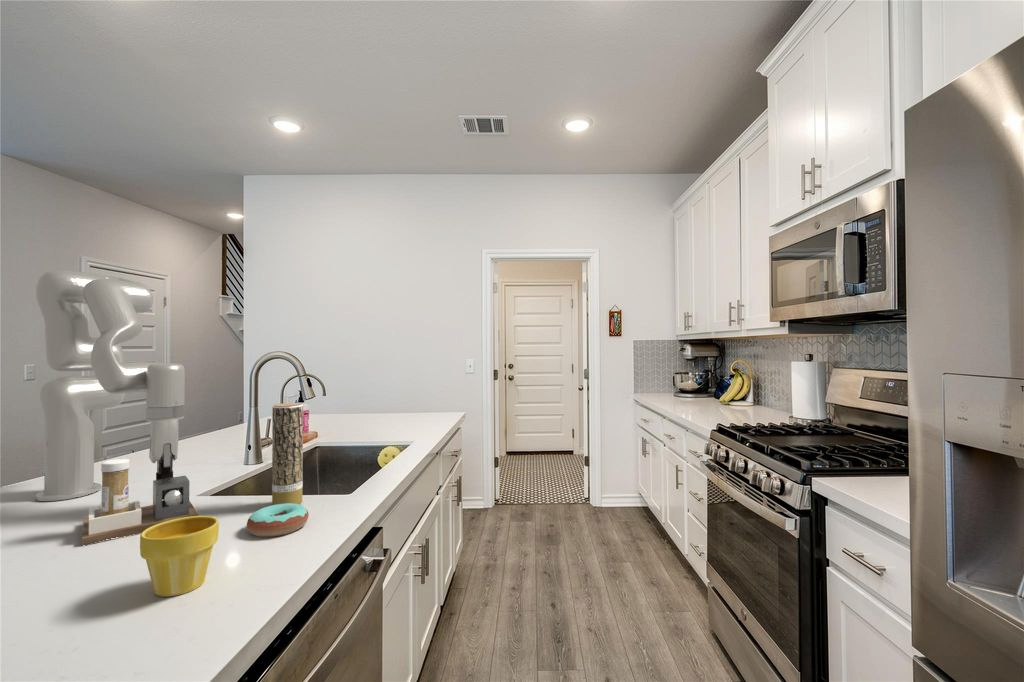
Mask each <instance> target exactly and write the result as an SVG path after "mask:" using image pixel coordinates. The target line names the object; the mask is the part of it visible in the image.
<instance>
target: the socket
mask: <svg viewBox="0 0 1024 682" xmlns="http://www.w3.org/2000/svg"><path fill="white" fill-rule="evenodd" d="M141 507H142V506H141V504H140V501H139V500H135V501H130V502H129V501H128V512H123V513H118V514H113V515H107V516H102V510H101V507H96V508H91V509H88V517H89V535H92V534H96V533H101V532H106V531H111V530H116V529H120V528H125V527H130V526H135V525H139V524H141Z"/></svg>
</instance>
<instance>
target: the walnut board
mask: <svg viewBox="0 0 1024 682" xmlns="http://www.w3.org/2000/svg"><path fill="white" fill-rule="evenodd" d="M140 507H141V524H139V525H135V526H130V527H125V528H120V529H116V530H111V531H106V532H101V533H96V534H92V535H89V516H85V517H83V520H82V521H83V522H82V544H81V545H82V547H84V546H83V545H85V546H88V544H90V545H92V544H91V543H94V544H96V543H95V542H99V541H103V540H106V539H111V538H116V537H122V538H125V537H124V536H126V537H130V536H129V535H131V536H134V535H133V534H135V535H139V534H138V533H140V534H141V533H142V532H143V531H144V530H146V529H148V528H150V527H152V526H154V525H157V524H159V523H162V522H166V521H170V520H174V519H178V518H184V517H191V516H199V513H198V511H197V510H196V508H195V506H194V505H193V504H192V502H191V501H190V500H189V514H187V515H182V516H177V517H172V518H168V519H163V520H158V521H155V518H154V516H153V504H149V505H146V506H140ZM99 543H100V542H99Z"/></svg>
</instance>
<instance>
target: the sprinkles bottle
mask: <svg viewBox="0 0 1024 682" xmlns="http://www.w3.org/2000/svg"><path fill="white" fill-rule="evenodd" d="M100 465H101V466H100V472H101V474H102V476H101V478H102V479H101V480H102V481H101V482H102V483H101V504H100V505H101V507H100V508H101V510H102V516H107V515H113V514H118V513H123V512H128V502H129V471H130V469H129V468H130V459H129V458H118V459H117V458H116V459H111V460H110V459H109V460H107V461H103V462H101V464H100Z"/></svg>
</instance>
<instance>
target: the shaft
mask: <svg viewBox="0 0 1024 682" xmlns="http://www.w3.org/2000/svg"><path fill="white" fill-rule="evenodd" d="M168 478H172V477H168ZM164 479H166V478H164ZM182 498H183V497H182V495H181V493H180V487H179V488H173V489H167V490H162V500H165V502H166V504H167V505H168V506H176V505H178V504H179V503H180V502H181V501H182Z"/></svg>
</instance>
